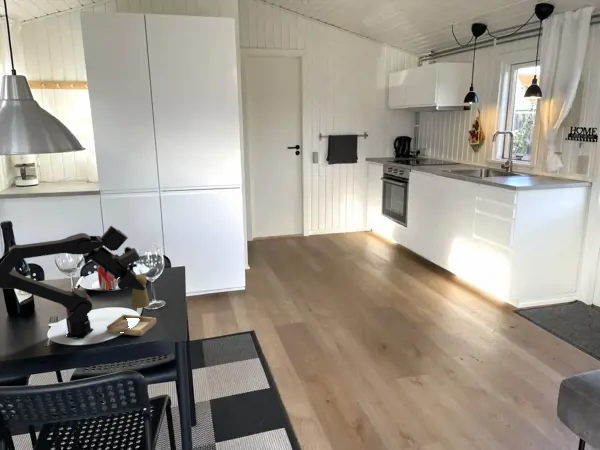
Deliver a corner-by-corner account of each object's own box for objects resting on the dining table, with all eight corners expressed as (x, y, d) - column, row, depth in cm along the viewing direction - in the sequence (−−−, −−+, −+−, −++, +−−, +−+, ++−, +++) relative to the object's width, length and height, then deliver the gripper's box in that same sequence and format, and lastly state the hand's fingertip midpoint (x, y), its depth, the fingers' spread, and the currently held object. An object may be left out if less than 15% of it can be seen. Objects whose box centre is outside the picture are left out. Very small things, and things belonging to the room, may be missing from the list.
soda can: (100, 286, 193) (97, 259, 190) (118, 284, 195) (115, 257, 192) (98, 292, 187) (95, 265, 184) (117, 290, 189) (114, 263, 186)
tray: (107, 331, 154) (106, 326, 154) (124, 319, 163) (123, 314, 163) (141, 336, 151) (140, 330, 151) (156, 323, 160) (156, 317, 160)
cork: (131, 302, 162) (129, 273, 159) (148, 299, 164) (147, 271, 161) (131, 309, 157) (129, 279, 154) (150, 306, 159) (148, 277, 156)
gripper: (126, 250, 145) (163, 278, 152) (121, 235, 161) (155, 261, 168) (101, 276, 143) (140, 303, 151) (99, 259, 160) (134, 284, 167)
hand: (143, 286), depth 159 cm, fingers closed on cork, 5 cm apart
